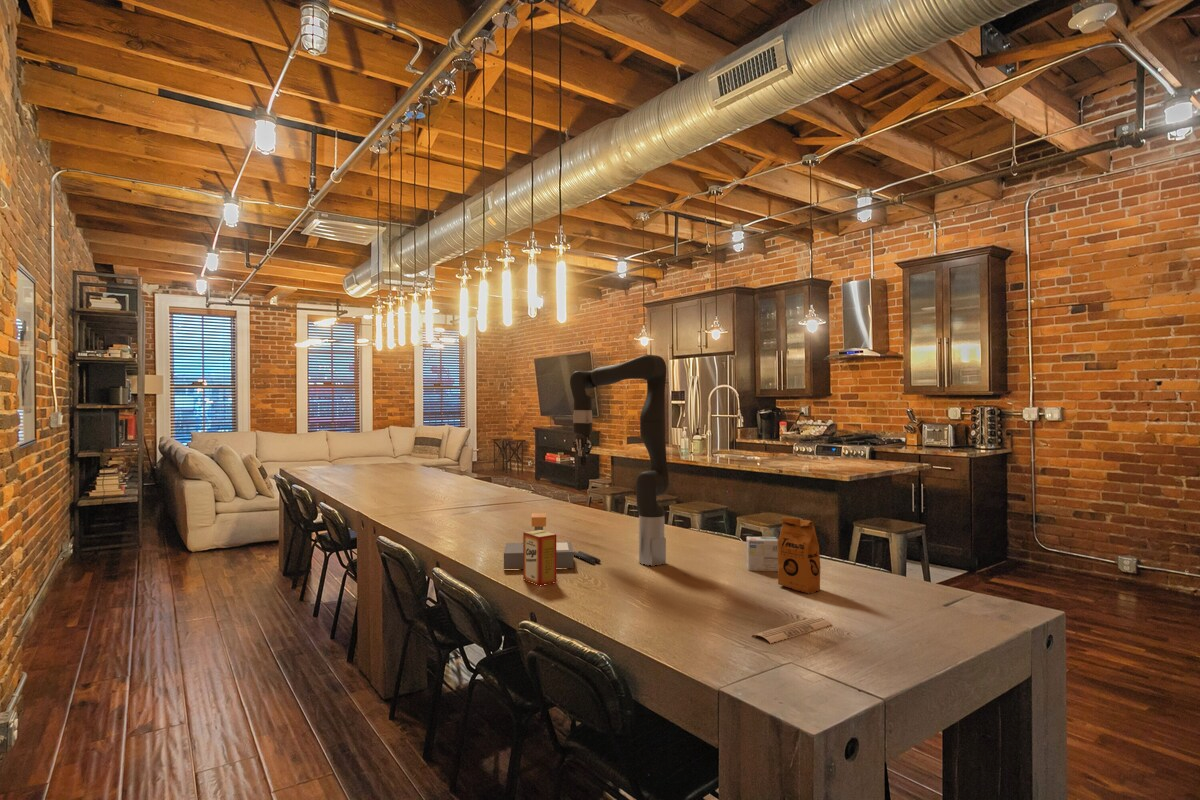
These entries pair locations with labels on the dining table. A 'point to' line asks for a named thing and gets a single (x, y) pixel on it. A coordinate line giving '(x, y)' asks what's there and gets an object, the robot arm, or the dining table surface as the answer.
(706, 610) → the dining table surface
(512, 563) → the breaker block
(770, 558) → the light bulb box
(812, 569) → the coffee package
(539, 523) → the breaker lever
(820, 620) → the newspaper
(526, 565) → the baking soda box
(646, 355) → the robot arm
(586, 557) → the dark grey ridged bar
